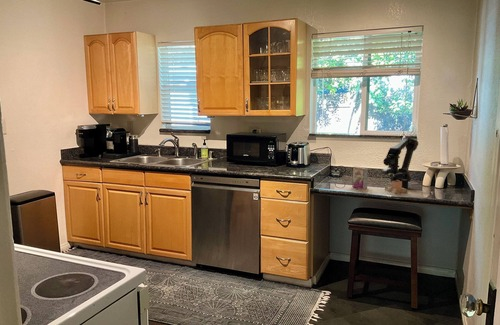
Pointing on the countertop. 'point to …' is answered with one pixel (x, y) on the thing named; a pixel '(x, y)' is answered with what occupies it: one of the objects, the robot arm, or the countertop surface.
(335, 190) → the countertop surface
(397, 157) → the robot arm
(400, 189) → the terracotta block
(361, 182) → the candy bar box
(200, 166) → the countertop surface
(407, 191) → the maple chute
